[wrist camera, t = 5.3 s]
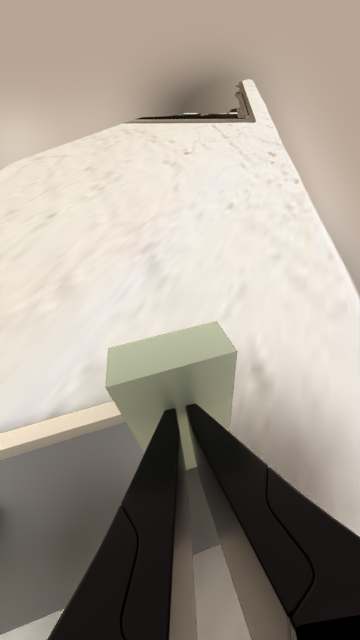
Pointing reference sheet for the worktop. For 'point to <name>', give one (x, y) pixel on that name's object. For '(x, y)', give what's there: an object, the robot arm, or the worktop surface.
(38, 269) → the worktop surface
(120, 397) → the flip switch
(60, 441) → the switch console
